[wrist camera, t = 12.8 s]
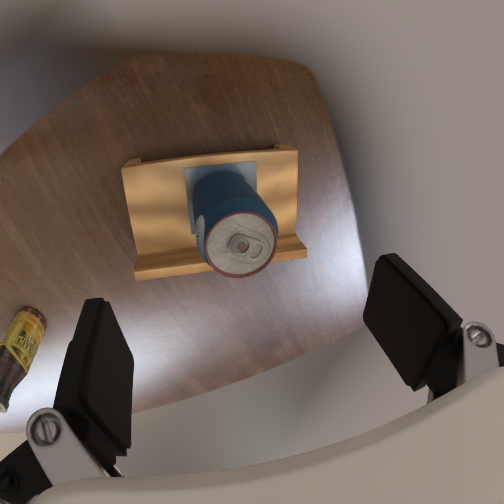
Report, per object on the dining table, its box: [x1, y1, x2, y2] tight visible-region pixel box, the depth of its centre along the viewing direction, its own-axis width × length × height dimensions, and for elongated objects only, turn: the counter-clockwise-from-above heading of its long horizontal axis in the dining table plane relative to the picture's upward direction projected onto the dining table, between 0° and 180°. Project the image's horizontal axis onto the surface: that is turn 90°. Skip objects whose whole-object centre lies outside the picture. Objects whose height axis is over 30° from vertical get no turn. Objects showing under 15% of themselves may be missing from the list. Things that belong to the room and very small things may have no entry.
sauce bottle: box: [0, 308, 46, 413], centre depth 32 cm, size 7×6×20 cm
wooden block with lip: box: [121, 144, 307, 281], centre depth 34 cm, size 12×20×9 cm, turn 92°
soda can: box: [192, 171, 278, 278], centre depth 28 cm, size 7×7×12 cm
